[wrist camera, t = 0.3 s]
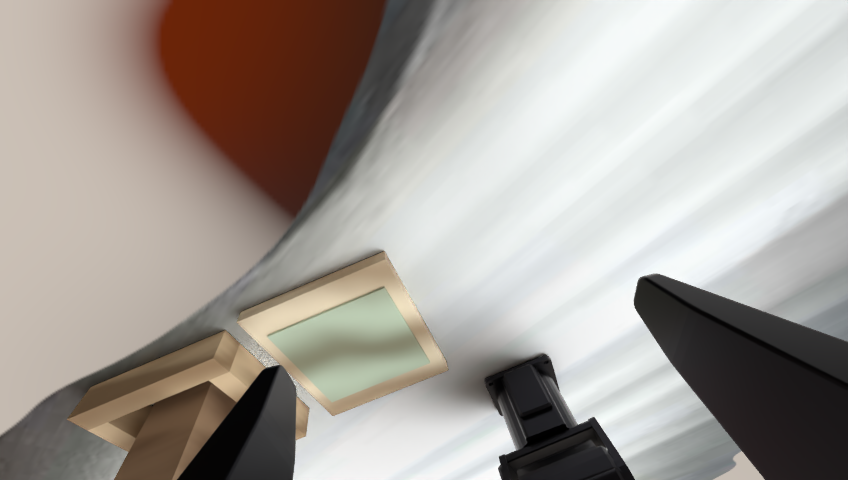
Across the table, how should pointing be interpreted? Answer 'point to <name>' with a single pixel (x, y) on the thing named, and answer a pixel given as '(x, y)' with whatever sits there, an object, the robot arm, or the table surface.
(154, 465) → the block
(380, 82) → the table surface
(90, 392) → the pocket
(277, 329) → the pad
